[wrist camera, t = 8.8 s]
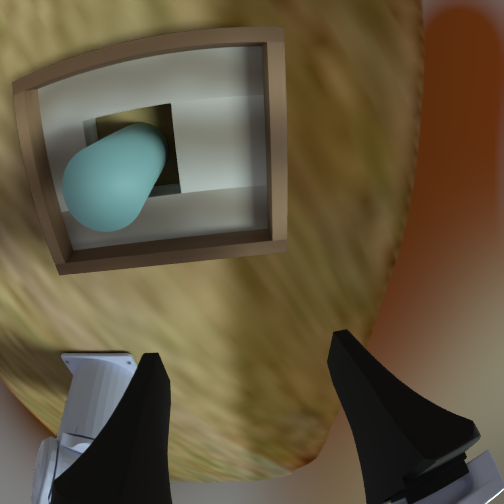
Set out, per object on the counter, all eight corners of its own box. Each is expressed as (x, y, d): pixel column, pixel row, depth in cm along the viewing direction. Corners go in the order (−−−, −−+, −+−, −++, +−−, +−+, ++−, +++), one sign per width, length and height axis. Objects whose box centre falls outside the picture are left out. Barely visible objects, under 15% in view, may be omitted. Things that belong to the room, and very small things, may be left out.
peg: (168, 121, 16) (143, 141, 10) (169, 179, 17) (149, 231, 11) (110, 125, 15) (57, 150, 9) (114, 181, 17) (70, 233, 11)
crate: (274, 224, 20) (286, 251, 17) (77, 247, 19) (59, 275, 16) (269, 38, 14) (283, 27, 11) (42, 79, 12) (12, 82, 9)
